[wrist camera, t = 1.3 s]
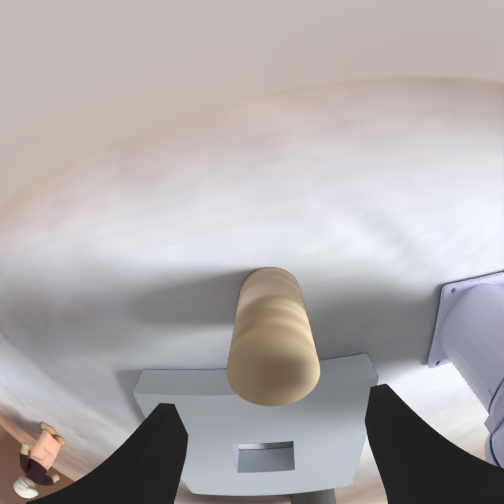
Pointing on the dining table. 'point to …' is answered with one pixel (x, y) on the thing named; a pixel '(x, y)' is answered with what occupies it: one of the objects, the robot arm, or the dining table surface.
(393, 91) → the dining table surface
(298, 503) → the bottle
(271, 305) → the peg
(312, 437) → the socket block
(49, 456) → the grandmother figurine
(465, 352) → the robot arm
